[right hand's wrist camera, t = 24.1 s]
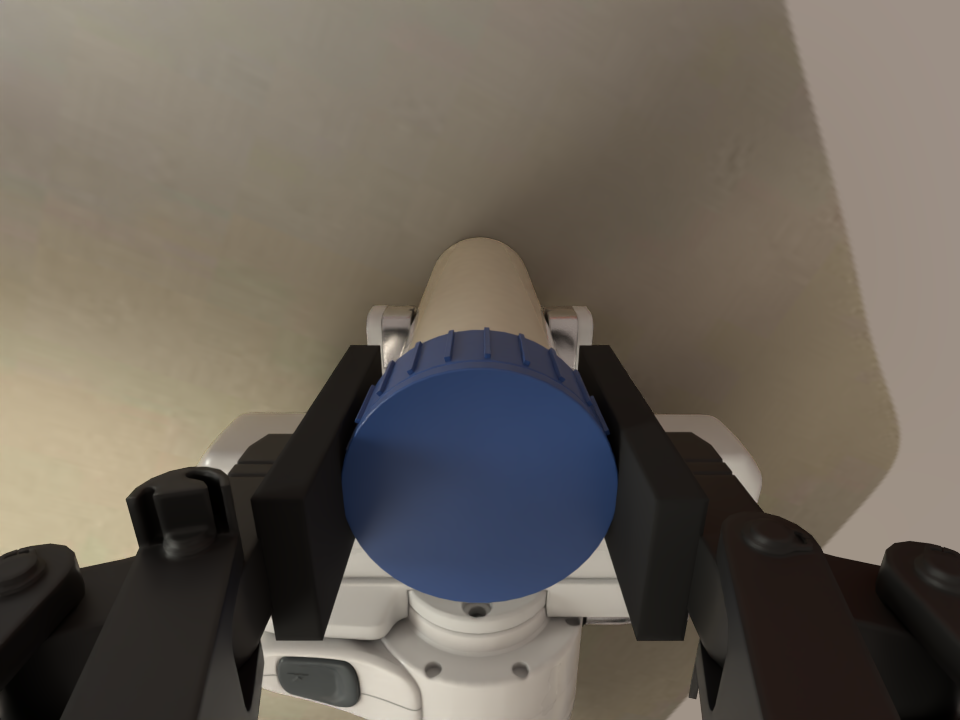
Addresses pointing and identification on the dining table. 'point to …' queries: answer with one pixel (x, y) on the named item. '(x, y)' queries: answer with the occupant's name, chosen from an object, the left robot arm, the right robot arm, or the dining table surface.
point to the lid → (479, 469)
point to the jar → (479, 295)
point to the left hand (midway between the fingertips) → (478, 309)
